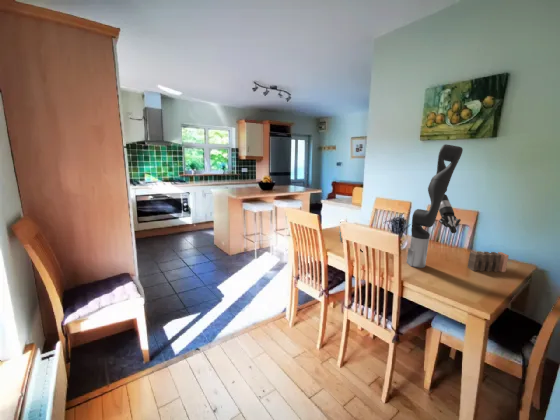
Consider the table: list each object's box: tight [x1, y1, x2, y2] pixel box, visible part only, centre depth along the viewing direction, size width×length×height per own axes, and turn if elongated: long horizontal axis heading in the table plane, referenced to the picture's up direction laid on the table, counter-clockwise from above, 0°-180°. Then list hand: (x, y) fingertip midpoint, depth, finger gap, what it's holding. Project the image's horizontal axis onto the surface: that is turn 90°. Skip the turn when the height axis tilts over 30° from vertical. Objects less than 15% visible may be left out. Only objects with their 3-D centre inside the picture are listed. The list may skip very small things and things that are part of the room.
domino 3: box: [483, 251, 494, 273], centre depth 153 cm, size 2×5×10 cm, turn 179°
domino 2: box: [476, 251, 487, 272], centre depth 153 cm, size 2×5×10 cm, turn 179°
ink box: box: [339, 215, 348, 233], centre depth 214 cm, size 8×5×15 cm, turn 168°
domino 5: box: [497, 251, 509, 273], centre depth 153 cm, size 2×5×10 cm, turn 179°
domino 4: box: [490, 251, 501, 273], centre depth 153 cm, size 2×5×10 cm, turn 179°
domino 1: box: [467, 250, 480, 272], centre depth 153 cm, size 2×5×10 cm, turn 179°
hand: (454, 232), depth 162 cm, fingers closed
